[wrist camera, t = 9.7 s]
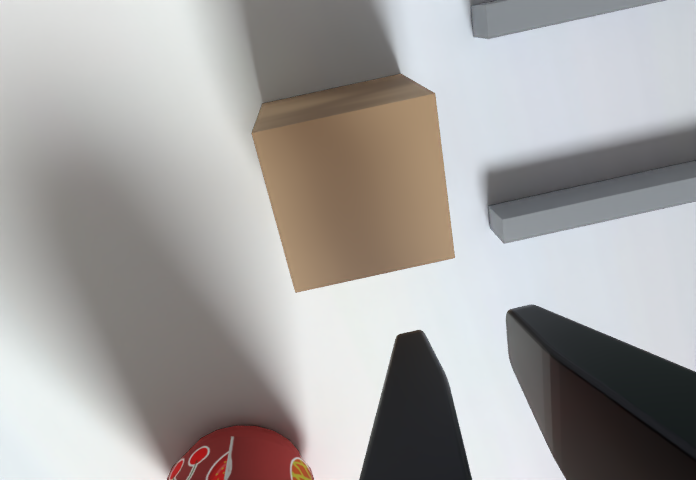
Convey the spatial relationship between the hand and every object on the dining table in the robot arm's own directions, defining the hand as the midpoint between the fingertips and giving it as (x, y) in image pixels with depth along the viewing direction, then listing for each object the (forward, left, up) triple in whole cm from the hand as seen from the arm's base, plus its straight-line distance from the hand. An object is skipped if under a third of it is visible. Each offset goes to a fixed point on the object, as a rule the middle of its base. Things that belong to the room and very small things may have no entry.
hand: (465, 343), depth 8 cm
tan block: (+1, 0, -12) cm, 13 cm away
